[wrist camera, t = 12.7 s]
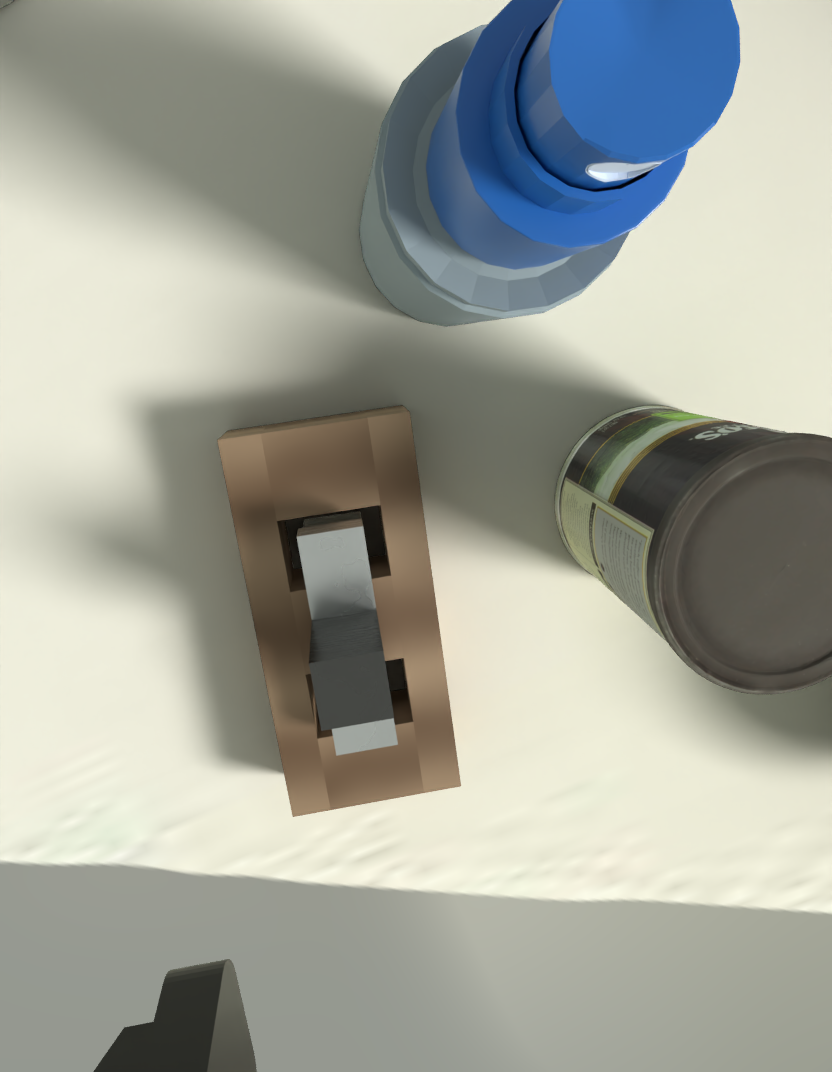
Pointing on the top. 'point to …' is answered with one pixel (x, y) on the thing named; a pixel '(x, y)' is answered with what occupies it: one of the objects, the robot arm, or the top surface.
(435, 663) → the wooden block with holes
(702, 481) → the coffee can
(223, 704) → the top surface
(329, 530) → the clip
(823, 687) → the top surface
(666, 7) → the spray bottle
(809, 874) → the top surface
